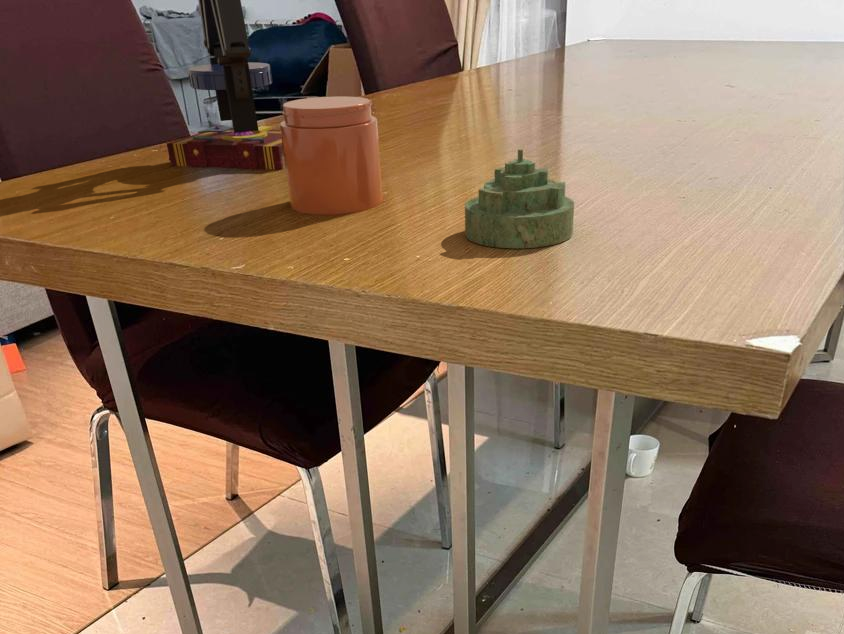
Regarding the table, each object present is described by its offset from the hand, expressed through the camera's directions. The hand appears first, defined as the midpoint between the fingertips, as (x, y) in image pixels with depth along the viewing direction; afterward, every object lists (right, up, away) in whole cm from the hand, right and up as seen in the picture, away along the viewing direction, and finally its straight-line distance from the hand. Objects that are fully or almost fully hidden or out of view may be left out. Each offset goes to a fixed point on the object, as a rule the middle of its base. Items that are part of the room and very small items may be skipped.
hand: (238, 125), depth 100 cm
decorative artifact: (+32, -22, -21) cm, 44 cm away
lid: (0, +4, -3) cm, 5 cm away
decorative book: (0, -5, +4) cm, 6 cm away
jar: (+14, -19, -16) cm, 29 cm away
